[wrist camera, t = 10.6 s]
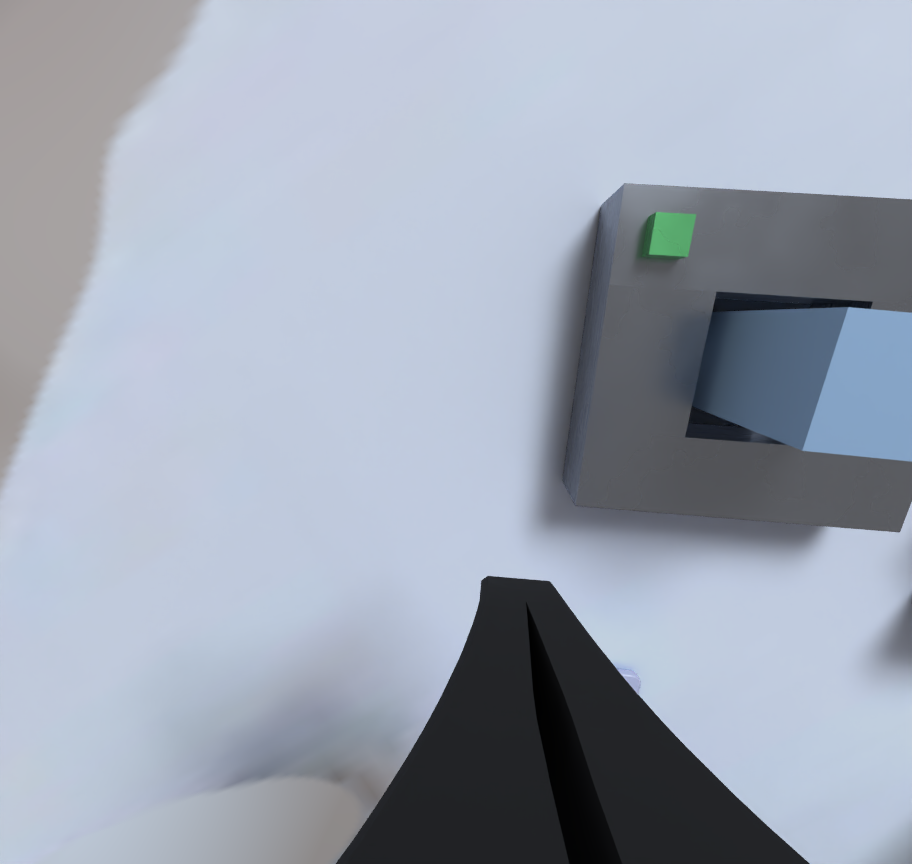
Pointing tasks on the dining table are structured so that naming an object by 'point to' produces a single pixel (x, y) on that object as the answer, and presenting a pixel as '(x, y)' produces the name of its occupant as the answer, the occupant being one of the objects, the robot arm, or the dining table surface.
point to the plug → (813, 378)
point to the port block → (683, 340)
